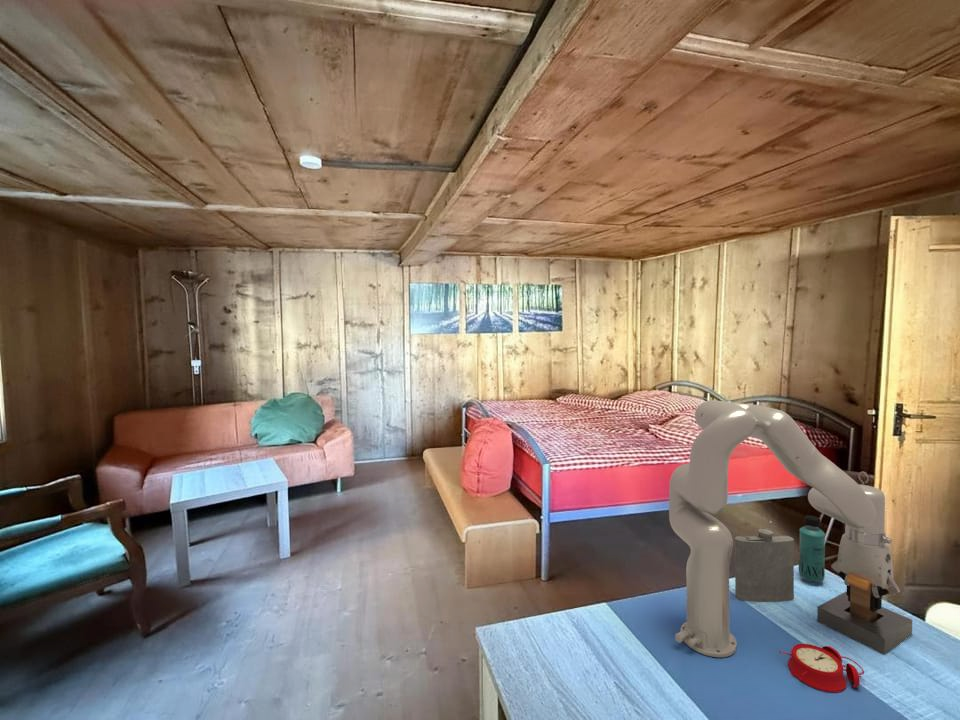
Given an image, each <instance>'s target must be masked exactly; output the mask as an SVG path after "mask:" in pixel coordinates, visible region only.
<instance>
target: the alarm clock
mask: <svg viewBox="0 0 960 720" xmlns="http://www.w3.org/2000/svg"><path fill="white" fill-rule="evenodd" d="M790 651H791V652H790V653H788V652H785V651H781V650H778V652H779V653H780V654H785V655H788V656H790V658H789V659H788V662H787V665H788V666H787V667H788V669H789V671H790V675H791V676H792V677H796V679H798V680H799V681H800V682H802V683H803V684H805V685H808V686H809V687H811V688H813V689H816V690H819V691H823V692H826V693H840V692H843V691H844V690H846V688H847V685H848V683H847V681H851V682H852V683H853V686H852V688H858V687H859V686H860V680H861V678H862V676H861V675H864V673H865V671H864V668H863V667H862V666H861V665H860V664H858V662H856V661H855V660H853V659H851V658H849V657H846V656H843V655H841V654H840V653H839V651H837V650H836V649H835V648H834V647H832V646H829V645H823V646H822V647H820V646H818V645H814V644H810V643H797V644H795V645H793V646H792V648H791V650H790ZM843 659H847V660H849V661H850V662H853V663H854V664H855V665H857V666H858V667H859V668H860V669H861V670H862V672H860V673H859V672H858V670H857V668H856V667H855V666H854V665H853V664H851V663H846V665H845V664H843ZM844 672H845V675H846V677H845V675H844ZM846 678H847V679H846Z"/></svg>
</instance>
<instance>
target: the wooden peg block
mask: <svg viewBox="0 0 960 720" xmlns="http://www.w3.org/2000/svg"><path fill="white" fill-rule="evenodd" d="M847 583H849V584H850V614H853V615H855V616H857V617H859V618H861V619H864V620H866V621H868V622H870V623H874V622H875V621H877V611H875V612H872V611H871V610H870V597H871V596H872V595H873V592H872V588H871V584H870V582H869V581H868V580H865V579H862V578H860V577H857V576H855V575H852V574H849V575H847Z"/></svg>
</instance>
